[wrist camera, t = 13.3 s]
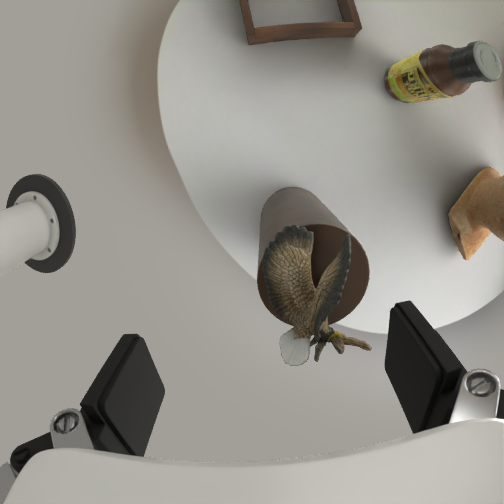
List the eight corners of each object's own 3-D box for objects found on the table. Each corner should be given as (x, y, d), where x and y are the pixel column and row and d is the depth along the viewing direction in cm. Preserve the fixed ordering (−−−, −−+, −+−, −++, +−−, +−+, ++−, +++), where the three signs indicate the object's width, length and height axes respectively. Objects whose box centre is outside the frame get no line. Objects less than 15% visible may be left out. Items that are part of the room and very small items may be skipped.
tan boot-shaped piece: (480, 147, 36) (543, 157, 22) (507, 200, 38) (563, 223, 24) (427, 207, 40) (486, 236, 26) (459, 257, 42) (511, 297, 28)
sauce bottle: (375, 86, 35) (452, 53, 16) (392, 56, 33) (469, 13, 14) (409, 113, 36) (499, 103, 17) (426, 83, 34) (513, 61, 15)
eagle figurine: (383, 310, 22) (366, 212, 18) (359, 385, 18) (334, 290, 14) (302, 304, 27) (269, 219, 23) (266, 367, 23) (216, 282, 18)
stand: (266, 253, 44) (266, 334, 25) (256, 192, 41) (247, 233, 22) (327, 244, 43) (369, 319, 24) (321, 183, 40) (367, 216, 21)
